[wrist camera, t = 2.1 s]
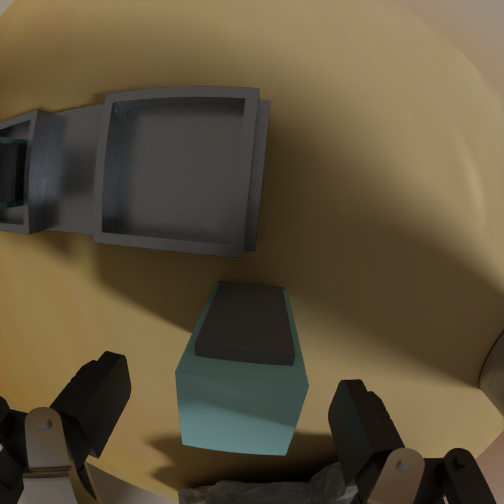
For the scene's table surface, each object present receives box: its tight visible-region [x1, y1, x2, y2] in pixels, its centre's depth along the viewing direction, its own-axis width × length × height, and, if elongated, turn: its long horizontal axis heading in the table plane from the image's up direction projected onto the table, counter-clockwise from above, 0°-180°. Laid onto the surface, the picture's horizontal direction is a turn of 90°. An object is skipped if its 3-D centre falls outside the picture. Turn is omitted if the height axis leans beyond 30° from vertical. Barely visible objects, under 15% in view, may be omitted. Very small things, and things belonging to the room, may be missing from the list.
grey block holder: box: [0, 86, 270, 259], centre depth 9 cm, size 20×7×10 cm, turn 84°
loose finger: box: [175, 281, 309, 455], centre depth 12 cm, size 4×4×8 cm
